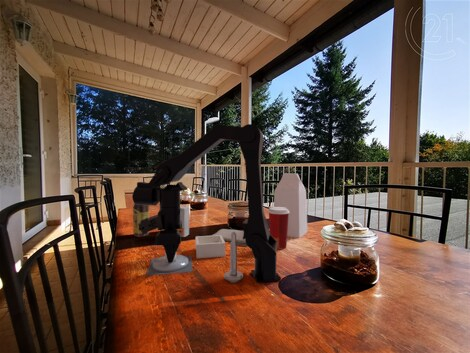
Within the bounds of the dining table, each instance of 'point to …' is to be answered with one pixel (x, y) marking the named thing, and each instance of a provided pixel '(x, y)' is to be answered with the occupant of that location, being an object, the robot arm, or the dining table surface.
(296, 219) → the milk
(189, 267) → the mat
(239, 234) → the washcloth
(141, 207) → the sauce bottle
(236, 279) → the screw
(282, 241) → the paper cup
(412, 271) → the dining table surface
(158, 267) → the lid
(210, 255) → the dish
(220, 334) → the dining table surface
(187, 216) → the skincare box
